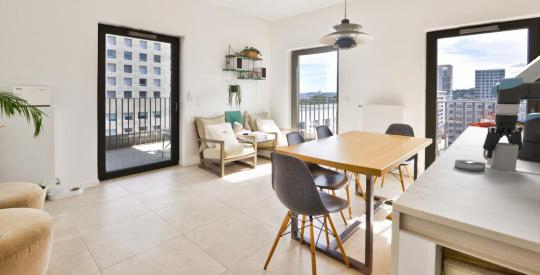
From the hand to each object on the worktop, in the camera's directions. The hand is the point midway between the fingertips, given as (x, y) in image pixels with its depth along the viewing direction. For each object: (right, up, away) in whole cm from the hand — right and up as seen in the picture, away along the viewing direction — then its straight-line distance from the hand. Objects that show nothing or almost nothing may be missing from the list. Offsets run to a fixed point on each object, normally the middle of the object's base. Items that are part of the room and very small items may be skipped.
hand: (500, 165), depth 125 cm
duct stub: (-14, -2, 0) cm, 14 cm away
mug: (-1, -1, 0) cm, 2 cm away
